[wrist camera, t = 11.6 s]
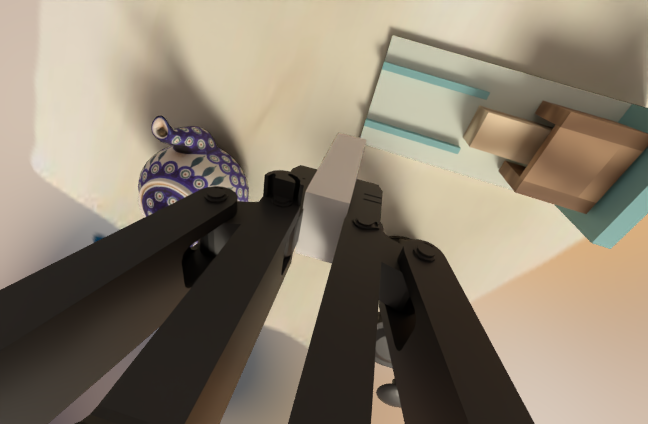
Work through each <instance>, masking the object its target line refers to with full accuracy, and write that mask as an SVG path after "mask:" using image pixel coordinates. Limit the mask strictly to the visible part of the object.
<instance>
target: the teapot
mask: <svg viewBox="0 0 648 424" xmlns="http://www.w3.org/2000/svg"><path fill="white" fill-rule="evenodd" d="M152 133H153V135H154V136H155V137H156V138H157V139H158V140H160V141H161V142H163V143H166V144H169V145H172V146H169V147H167V148H165V149H163V150H161V151H159V152H158V153H156V154H155V155H154V156H153V157H151V158H150V159H149V161H148V162H147V163H146V164H145V166H144V167H143V169H142V171H141V174H140V178H139V184H138V190H139V196H138V204H139V207H140V210H141V212H142V214H143V216H144V218H145V217H147V216H149V215H151V214H153V213H155V212H157V211H159V210H161V209H163V208H165V207H167V206H169V205H171V204H173V203H175V202H177V201H179V200H181V199H183V198H185V197H186V196H188V195H190V194H192V193H194V192H196V191H198V190H200V189H203V188H206V187H213V186H219V187H220V186H221V187H226V188H229V189H231V190H233V191H234V192H236V194H237V196H238V201H243V202H248V197H249V188H248V183H247V180H246V177H245V175H244V173H243V171H242V169H241V167H240V166H239V164H238V163H237V162H236V161H235V160H234V158H232V157H231V156H230V155H229V154H228V153H226V152H225V151H223V150H222V149H220V148H219V147H217V145H216V143H215V140H214V138H213V137H212V136H211V134H210V133H209V132H208V131H206V130H205V129H203V128H201V127H195V126H189V127H180V128H172V127H171V126H170V125H169V123H168V122H167V120H166V119H165V118H164V117H163V116H157V117H156V118H155V119H154V121H153V123H152ZM196 243H198V241H197V242H195V243H194V244H192V245H191V246H190V247H192V246H194V245H195V244H196Z"/></svg>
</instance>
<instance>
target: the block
mask: <svg viewBox="0 0 648 424" xmlns="http://www.w3.org/2000/svg"><path fill="white" fill-rule="evenodd" d="M535 114H536V115H538V116H540V117H542V118H544V119H546V120H548V121H550V122H552V123H553V124H555V126H554V128H553V129H552V131H551V132H550V133H549V135H548V136H547V138H546V139H545V141H544V142H543V144H542V145H541V147H540V148H539V150H538V151H537V152H536V154H535V155H534V157H533V158H532V160H531V161H530V163H529V164H528V166H527V167H524V166H521V165H518V164H515V163H511V162H508V161H504V163H503V164H502V166H501V167H500V169H499V173H500V174H501V175H502V176H503V178H504V179H505V180H506V182H507V183H508V184H509V185H510V187H511V188H512V189H513V190H514V192H516V193H519V194H522V195H526V196H529V197H532V198H535V199H539V200H542V201H545V202H548V203H552V204H555V205H558V206H561V207H564V208H568V209H571V210H574V211H577V212H581V213H584V214H587V213H588V212H589V211H590V210H591V209H592V207H593V206H594V205H595V204H596V203H597V202H598V201H599V200H600V199H601V197H602V196H603V195H604V194H605V193H606V192H607V191H608V190H609V189H610V188H611V186H612V185H613V184H614V183H615V182H616V181H617V180H618V179H619V178H620V176H621V175H622V174H623V173H624V172H625V171H626V170H627V169H628V168H629V166H630V165H631V164H632V163H633V162H634V161H635V160H636V159H637V158H638V157H639V155H640V154H641V153H642V152H643V151H644V150H645V149H646V148H647V147H648V133H645V132H642V131H640V130H637V129H634V128H631V127H629V126H626V125H623V124H621V123H618V122H615V121H612V120H609V119H605V118H602V117H598V116H595V115H591V114H588V113H585V112H581V111H578V110H574V109H571V108H567V107H564V106H561V105H557V104H554V103H550V102H547V101H542V103H541V104H540V106H539V107H538V109H537V110H536V112H535Z"/></svg>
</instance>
